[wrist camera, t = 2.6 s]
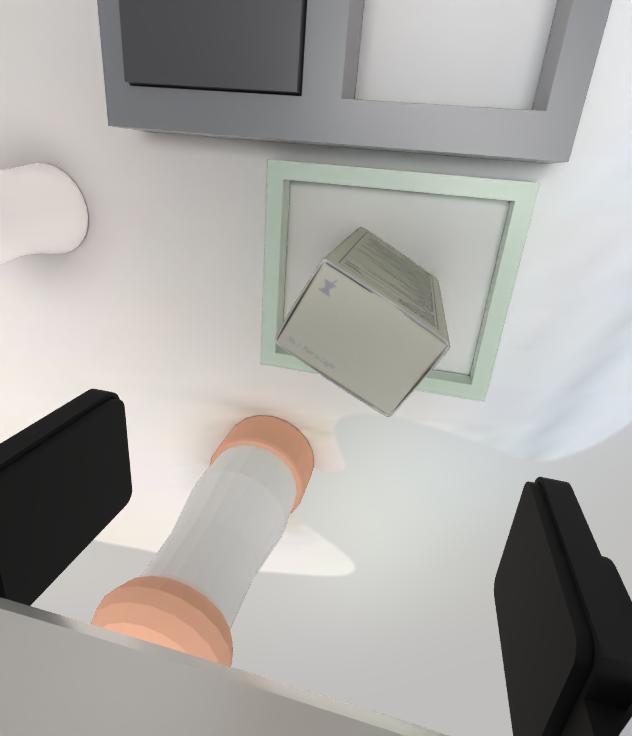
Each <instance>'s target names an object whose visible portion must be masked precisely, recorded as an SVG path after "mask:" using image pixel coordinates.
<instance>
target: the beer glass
mask: <svg viewBox="0 0 632 736" xmlns="http://www.w3.org/2000/svg"><path fill="white" fill-rule="evenodd" d="M87 228H88V212H87V207H86V203H85V200H84V198H83V196H82V194H81V192H80V190H79V188H78V187H77V185H76V184H75V182H74V181H73V180H72V179H71V178H70V177H69V176H68V175H67V174H66V173H65V172H63V171H62V170H60V169H58V168H57V167H54V166H52V165H49V164H45V163H32V164H27V165H22V166H19V167H15V168H9V169H0V265H2V264H4V263H6V262H8V261H10V260H13V259H15V258H17V257H20V256H24V255H28V254H63V253H67V252H70V251H72V250H74V249H75V248H77V247H78V246H79V245H80V244H81V243H82V241H83V239H84V237H85V235H86V232H87Z"/></svg>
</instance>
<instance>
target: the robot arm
mask: <svg viewBox="0 0 632 736" xmlns="http://www.w3.org/2000/svg"><path fill="white" fill-rule="evenodd" d="M131 494H132V483H131V472H130V461H129V450H128V439H127V428H126V417H125V407H124V403H123V401H121V400H120V399H119V397H118V395H117V394H116V393H113V392H108V391H103V390H98V389H90V390H88V391H86V392H85V393H83V394H81V395H80V396H78V397H76V398H75V399H73V400H71V401H70V402H68V403H67V404H65V405H63V406H62V407H60V408H58V409H57V410H55V411H53V412H52V413H50V414H48V415H47V416H45V417H43V418H42V419H40V420H38V421H37V422H35V423H34V424H32V425H30V426H29V427H27V428H25V429H24V430H22V431H20V432H19V433H17V434H15V435H14V436H12V437H10V438H9V439H7V440H6V441H4V442H2V443H1V444H0V736H448V735H445V734H442V733H439V732H436V731H433V730H430V729H427V728H424V727H420V726H417V725H414V724H411V723H408V722H405V721H402V720H399V719H396V718H393V717H390V716H387V715H384V714H381V713H378V712H374V711H371V710H368V709H365V708H361V707H358V706H355V705H352V704H349V703H345V702H342V701H339V700H336V699H332V698H329V697H326V696H323V695H320V694H317V693H313V692H310V691H307V690H304V689H301V688H297V687H294V686H291V685H288V684H284V683H281V682H278V681H275V680H271V679H268V678H265V677H262V676H259V675H256V674H252V673H249V672H246V671H243V670H239V669H236V668H232V667H230V666H226V665H223V664H220V663H216V662H213V661H210V660H207V659H203V658H200V657H197V656H194V655H190V654H187V653H184V652H180V651H177V650H174V649H171V648H167V647H164V646H161V645H158V644H154V643H151V642H148V641H144V640H141V639H138V638H134V637H131V636H128V635H125V634H121V633H118V632H115V631H111V630H108V629H105V628H102V627H98V626H95V625H92V624H88V623H85V622H82V621H78V620H75V619H71V618H68V617H65V616H61V615H58V614H55V613H51V612H47V611H45V610H41V609H38V608H34V607H31V606H30V605H31V604H32V603H33V602H34V601H35V600H36V599H37V598H38V597H39V596H40V595H41V594H42V593H43V592H44V591H45V590H46V588H48V587H49V585H50V584H51V583H52V582H53V581H54V580H55V579H56V578H57V577H58V576H59V575H60V574H61V573H62V572H63V571H64V570H65V569H66V568H67V566H68V565H69V564H70V563H71V562H72V561H73V560H74V559H75V558H76V557H77V556H78V555H79V554H80V553H81V552H82V551H83V550H84V549H85V548H86V547H87V546H88V545H89V544H90V543H91V541H92V540H93V539H94V538H95V537H96V536H97V535H98V534H99V533H100V532H101V531H102V530H103V529H104V528H105V527H106V526H107V525H108V524H109V523H110V522H111V520H112V519H113V518H114V517H115V516H116V515H117V514H118V513H119V512H120V511H121V510H122V509H123V508H124V507H125V506H126V505H127V503H128V502H129V500H130V497H131ZM494 597H495V605H496V612H497V619H498V627H499V634H500V641H501V649H502V656H503V664H504V671H505V678H506V686H507V692H508V701H509V707H510V715H511V722H512V730H513V736H632V601H631V599H630V597H629V595H628V593H627V590H626V588H625V586H624V584H623V582H622V579H621V577H620V575H619V573H618V571H617V569H616V567H615V565H614V563H613V562H612V561H611V560H610V559H608V558H607V557H603V556H601V554H600V551H599V549H598V547H597V544H596V542H595V540H594V538H593V535H592V533H591V531H590V529H589V526H588V524H587V521H586V519H585V517H584V515H583V512H582V510H581V508H580V505H579V503H578V501H577V498H576V496H575V494H574V491H573V489H572V487H571V485H570V484H569V483H567V482H564V481H558V480H553V479H548V478H543V477H538V478H537V479H536V480H535V483H533V482H526V484H525V486H524V488H523V491H522V495H521V498H520V501H519V504H518V507H517V510H516V514H515V517H514V520H513V523H512V526H511V529H510V533H509V536H508V539H507V542H506V545H505V549H504V552H503V555H502V558H501V561H500V564H499V567H498V571H497V574H496V577H495V583H494Z"/></svg>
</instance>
